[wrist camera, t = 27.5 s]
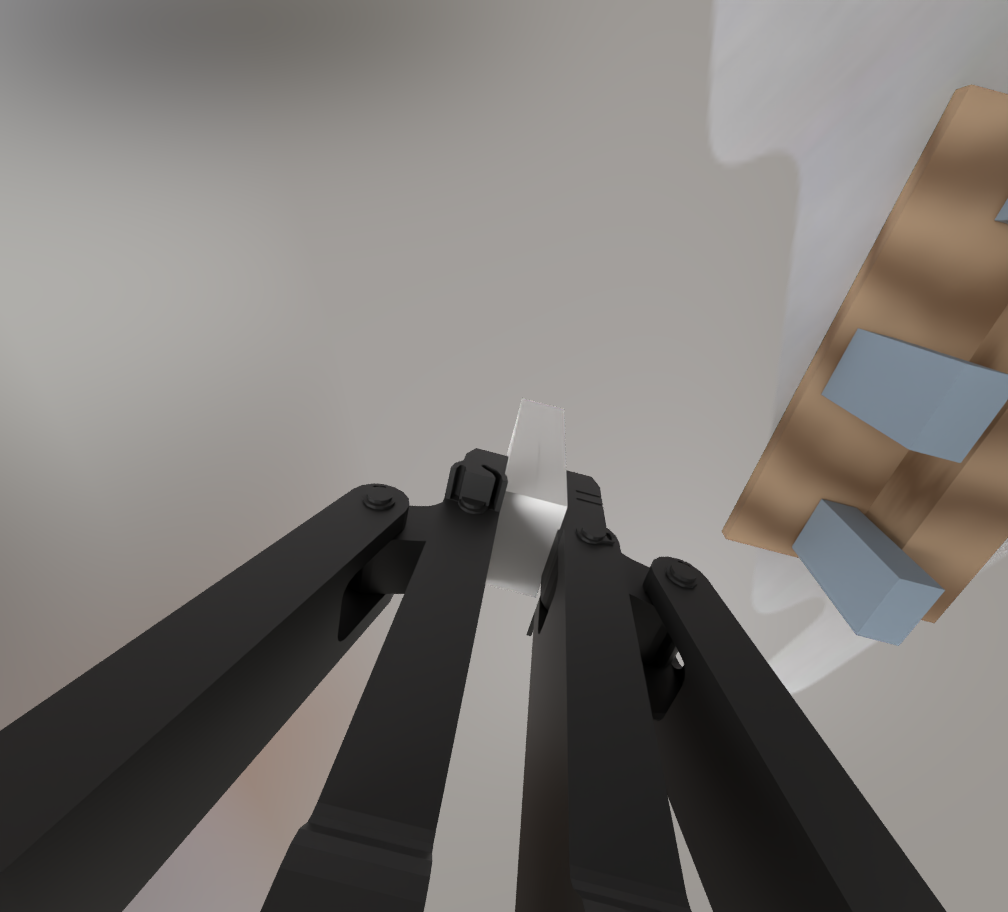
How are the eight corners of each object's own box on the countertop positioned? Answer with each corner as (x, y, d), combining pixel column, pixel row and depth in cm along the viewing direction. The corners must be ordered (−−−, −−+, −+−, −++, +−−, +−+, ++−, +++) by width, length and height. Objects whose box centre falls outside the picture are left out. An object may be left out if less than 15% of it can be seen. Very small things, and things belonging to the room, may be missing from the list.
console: (955, 89, 29) (1046, 57, 24) (1214, 159, 29) (1363, 144, 24) (721, 531, 43) (744, 574, 38) (896, 576, 44) (944, 625, 38)
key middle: (857, 328, 34) (966, 364, 25) (899, 339, 34) (1023, 378, 25) (821, 394, 36) (909, 449, 27) (859, 404, 36) (960, 463, 27)
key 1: (821, 498, 39) (899, 578, 30) (856, 508, 40) (945, 590, 30) (791, 547, 42) (856, 634, 33) (825, 555, 42) (898, 645, 33)
